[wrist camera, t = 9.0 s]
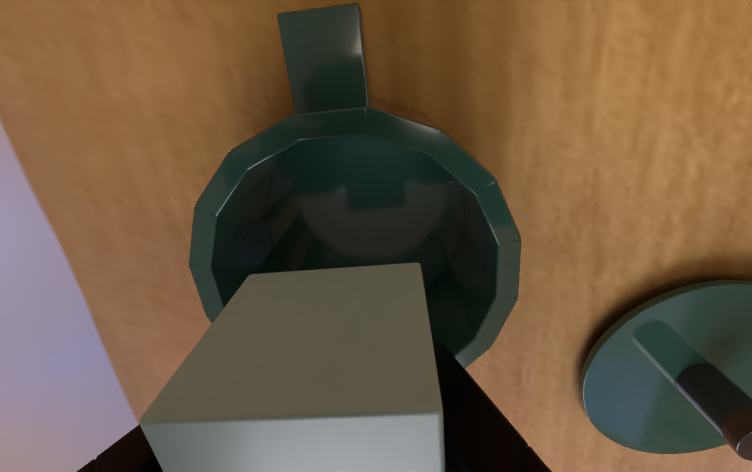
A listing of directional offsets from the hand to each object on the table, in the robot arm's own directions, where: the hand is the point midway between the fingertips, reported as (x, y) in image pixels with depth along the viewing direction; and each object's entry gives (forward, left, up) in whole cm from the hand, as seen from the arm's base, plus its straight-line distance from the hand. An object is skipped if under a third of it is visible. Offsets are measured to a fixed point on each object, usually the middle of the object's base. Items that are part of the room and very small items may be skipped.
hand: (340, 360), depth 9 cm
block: (0, 0, -1) cm, 1 cm away
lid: (-18, +11, -10) cm, 23 cm away
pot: (0, 0, -10) cm, 10 cm away
